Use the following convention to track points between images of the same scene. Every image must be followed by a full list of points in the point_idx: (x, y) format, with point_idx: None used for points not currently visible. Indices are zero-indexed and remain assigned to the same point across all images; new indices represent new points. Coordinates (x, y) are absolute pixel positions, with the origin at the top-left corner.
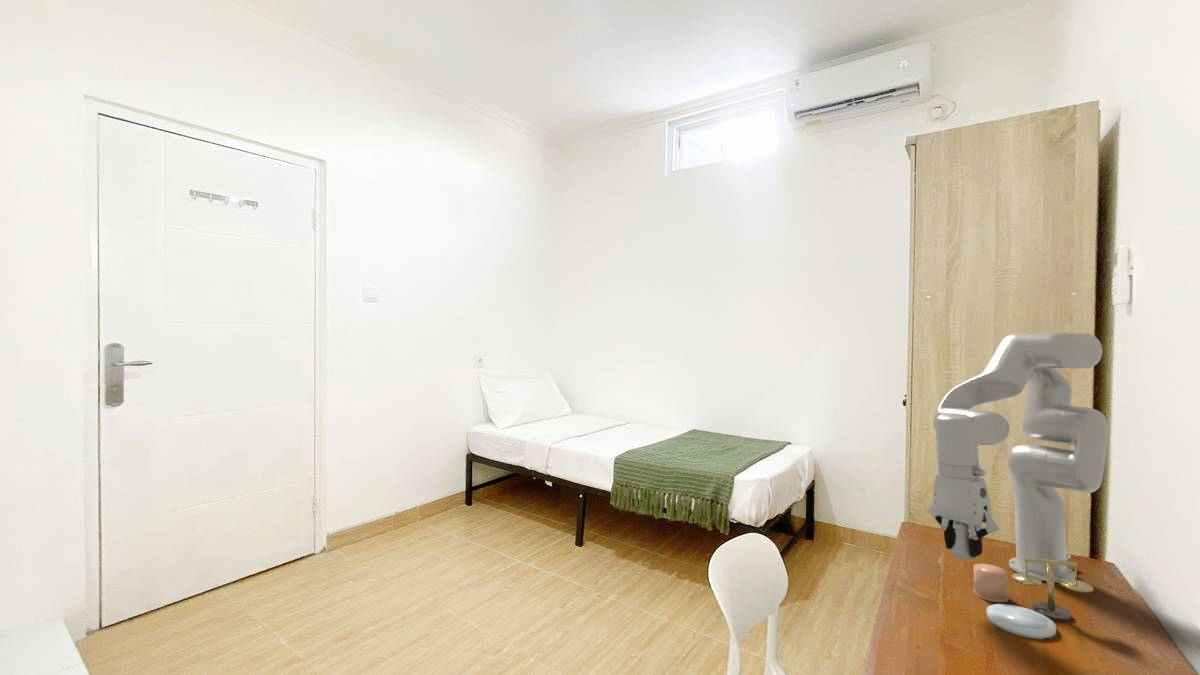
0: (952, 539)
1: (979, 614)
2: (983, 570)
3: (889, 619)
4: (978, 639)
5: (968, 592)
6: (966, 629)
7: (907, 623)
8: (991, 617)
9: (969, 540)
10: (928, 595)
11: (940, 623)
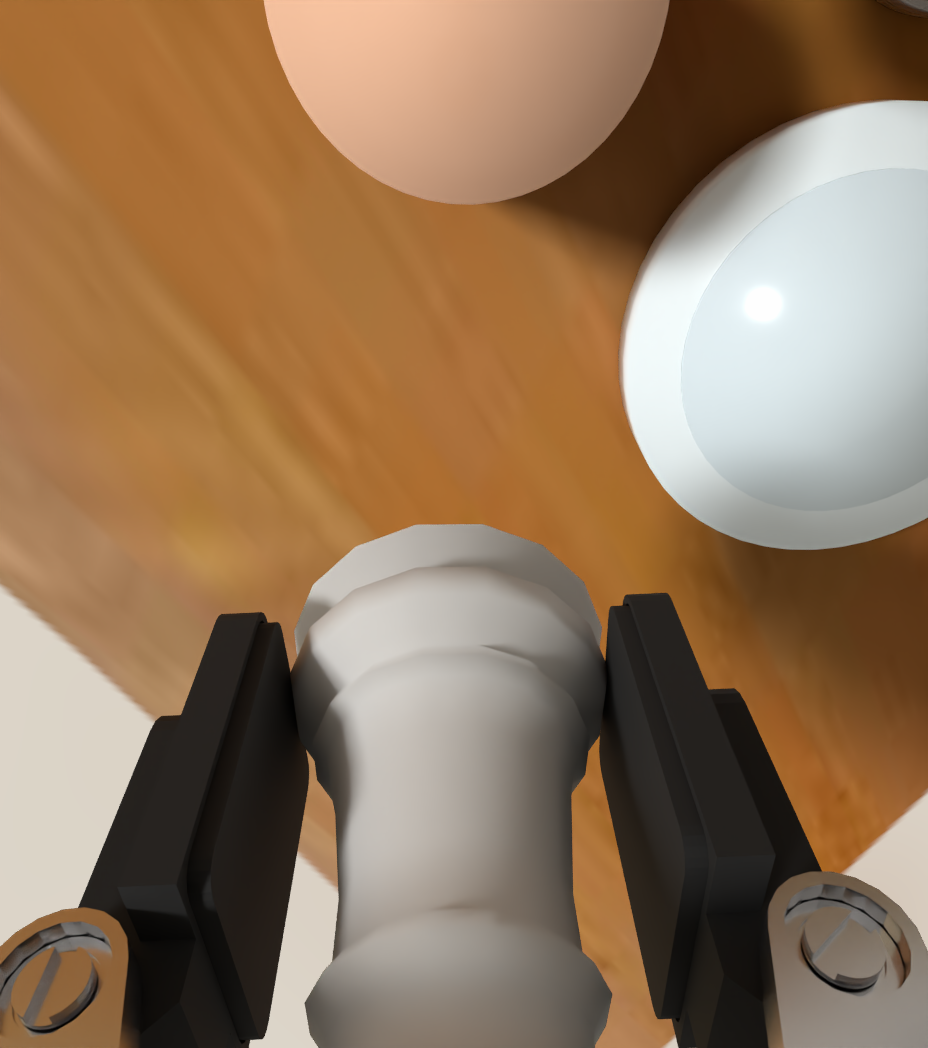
0: (271, 820)
1: (598, 471)
2: (451, 127)
3: None
4: None
5: (326, 167)
6: None
7: None
8: (711, 525)
9: (675, 1017)
10: (247, 529)
11: None
